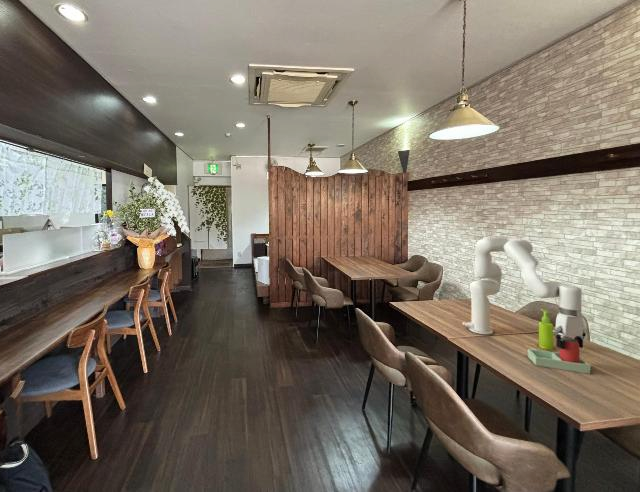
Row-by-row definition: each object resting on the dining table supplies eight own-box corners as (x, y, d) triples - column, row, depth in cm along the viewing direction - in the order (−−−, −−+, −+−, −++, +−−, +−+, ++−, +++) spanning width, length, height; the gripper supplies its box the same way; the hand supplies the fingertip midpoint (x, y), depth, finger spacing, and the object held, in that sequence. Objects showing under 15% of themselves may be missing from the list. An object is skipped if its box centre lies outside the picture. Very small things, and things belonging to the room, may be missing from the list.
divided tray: (535, 365, 138) (535, 357, 137) (527, 355, 147) (527, 348, 147) (590, 373, 130) (590, 365, 130) (577, 363, 139) (577, 355, 139)
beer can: (583, 368, 133) (583, 342, 132) (566, 366, 134) (566, 341, 134) (572, 361, 139) (572, 336, 139) (556, 359, 140) (556, 335, 140)
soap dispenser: (548, 345, 159) (548, 309, 158) (555, 350, 152) (555, 313, 152) (535, 343, 161) (535, 308, 160) (542, 349, 154) (542, 312, 154)
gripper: (576, 308, 141) (576, 342, 141) (545, 310, 139) (545, 345, 139) (595, 313, 133) (594, 349, 134) (562, 315, 131) (562, 352, 132)
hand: (569, 347), depth 136 cm, fingers open, 9 cm apart
